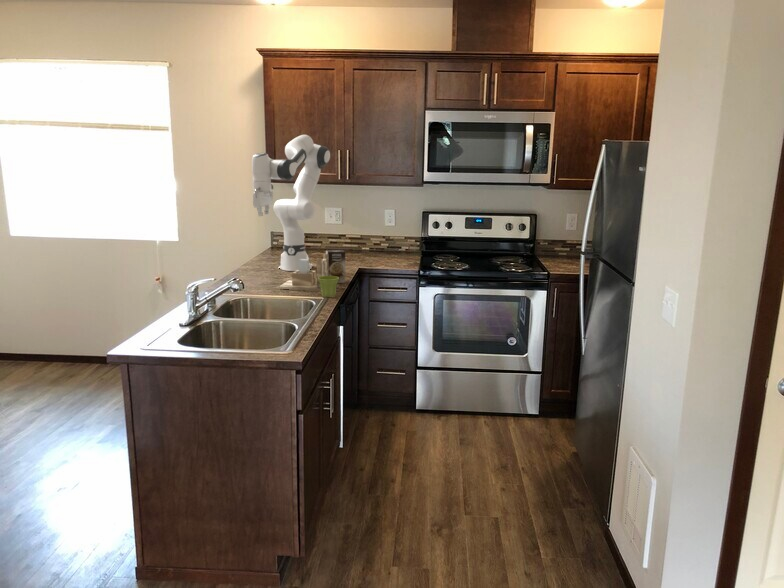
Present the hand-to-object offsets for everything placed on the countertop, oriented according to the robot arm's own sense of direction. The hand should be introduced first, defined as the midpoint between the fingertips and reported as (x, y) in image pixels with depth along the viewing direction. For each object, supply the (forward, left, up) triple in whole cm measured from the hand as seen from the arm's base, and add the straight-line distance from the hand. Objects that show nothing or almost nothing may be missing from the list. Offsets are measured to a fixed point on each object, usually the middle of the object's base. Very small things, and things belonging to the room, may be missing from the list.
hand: (263, 215), depth 307 cm
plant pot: (+28, +39, -34) cm, 59 cm away
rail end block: (+11, +23, -32) cm, 41 cm away
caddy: (+11, +23, -33) cm, 42 cm away
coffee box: (-5, +35, -33) cm, 49 cm away
